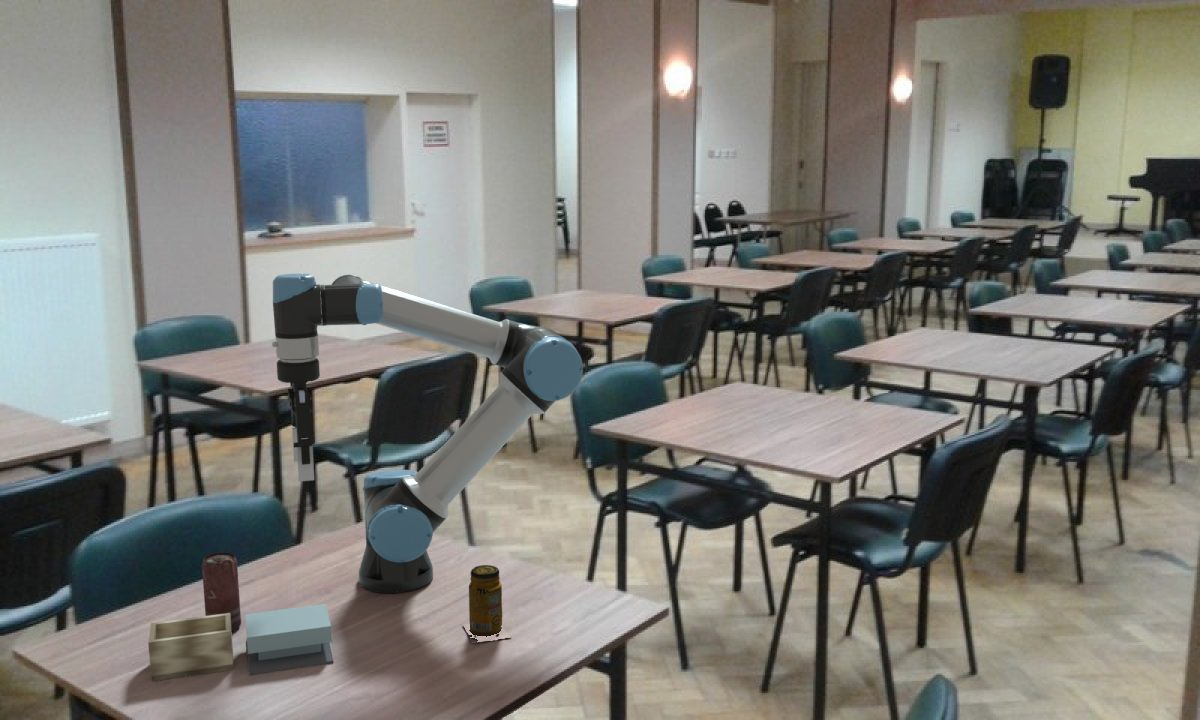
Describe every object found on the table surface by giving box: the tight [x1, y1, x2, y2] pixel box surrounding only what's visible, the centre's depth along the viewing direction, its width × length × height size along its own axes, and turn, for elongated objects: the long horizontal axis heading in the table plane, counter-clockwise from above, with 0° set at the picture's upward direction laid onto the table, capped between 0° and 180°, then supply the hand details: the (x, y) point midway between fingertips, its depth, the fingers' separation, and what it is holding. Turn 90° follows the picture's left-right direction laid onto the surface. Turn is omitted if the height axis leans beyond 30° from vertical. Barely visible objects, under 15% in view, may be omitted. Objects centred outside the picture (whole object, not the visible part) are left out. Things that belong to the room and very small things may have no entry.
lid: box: [245, 603, 333, 660], centre depth 192 cm, size 14×10×6 cm
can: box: [201, 552, 242, 633], centre depth 201 cm, size 6×6×14 cm
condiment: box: [466, 564, 503, 644], centre depth 199 cm, size 7×8×12 cm
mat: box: [247, 642, 334, 676], centre depth 192 cm, size 14×14×1 cm
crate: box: [147, 613, 234, 682], centre depth 187 cm, size 13×8×7 cm, turn 109°
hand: (303, 470), depth 203 cm, fingers open, 13 cm apart
